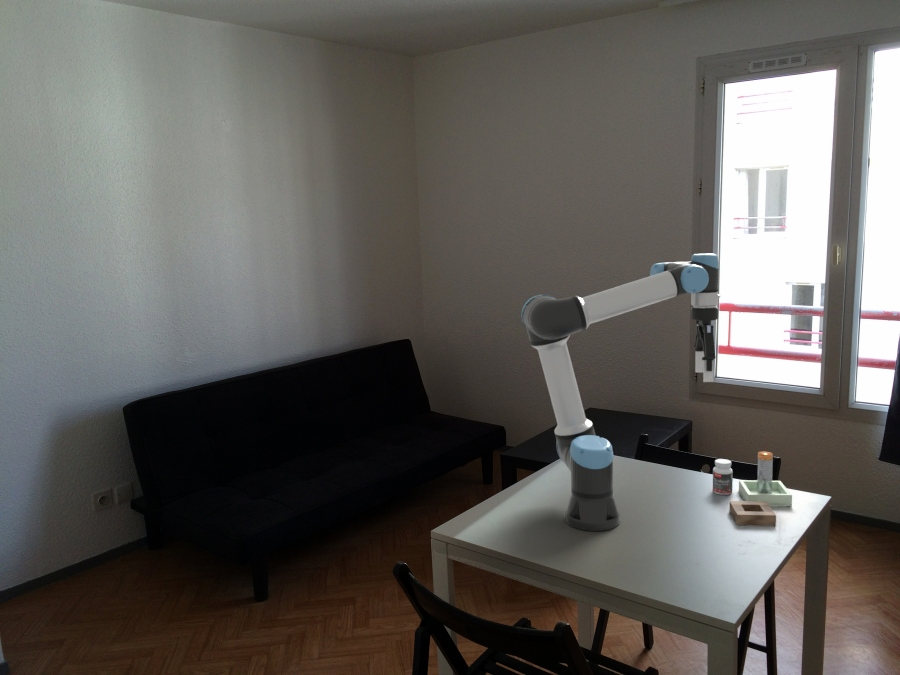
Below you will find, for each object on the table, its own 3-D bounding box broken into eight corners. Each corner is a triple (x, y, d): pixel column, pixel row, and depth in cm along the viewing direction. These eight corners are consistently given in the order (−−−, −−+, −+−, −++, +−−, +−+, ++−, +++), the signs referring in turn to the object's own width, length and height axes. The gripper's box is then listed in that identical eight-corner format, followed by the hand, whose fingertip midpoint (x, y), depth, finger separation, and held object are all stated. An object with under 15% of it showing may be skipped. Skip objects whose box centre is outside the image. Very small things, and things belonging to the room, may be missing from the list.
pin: (759, 497, 216) (759, 455, 214) (755, 492, 220) (756, 451, 218) (773, 498, 215) (774, 455, 213) (769, 493, 219) (770, 451, 217)
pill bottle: (712, 494, 223) (712, 463, 221) (713, 488, 228) (713, 457, 226) (732, 496, 221) (732, 464, 219) (732, 489, 226) (733, 459, 224)
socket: (737, 525, 200) (737, 514, 200) (729, 510, 210) (729, 500, 209) (775, 525, 198) (776, 515, 198) (766, 511, 208) (766, 501, 208)
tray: (748, 505, 213) (748, 494, 212) (738, 491, 224) (738, 480, 224) (791, 506, 211) (792, 495, 210) (780, 491, 222) (780, 480, 222)
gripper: (726, 311, 202) (726, 385, 205) (709, 301, 226) (709, 368, 229) (698, 311, 203) (698, 386, 206) (684, 302, 227) (684, 368, 231)
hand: (704, 377), depth 218 cm, fingers open, 13 cm apart
